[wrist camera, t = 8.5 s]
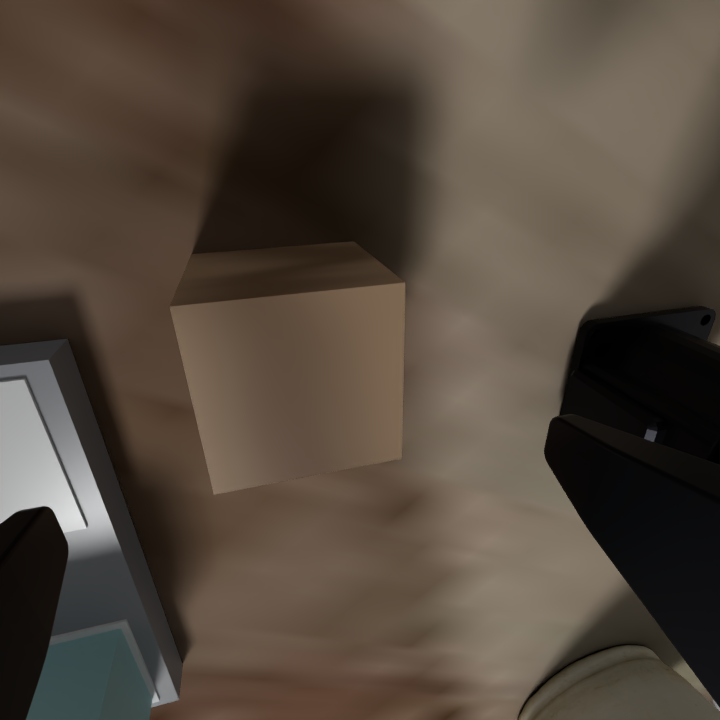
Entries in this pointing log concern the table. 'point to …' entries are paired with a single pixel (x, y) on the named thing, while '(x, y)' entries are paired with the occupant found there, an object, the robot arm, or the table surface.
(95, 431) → the baseplate
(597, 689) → the jug
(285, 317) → the walnut block
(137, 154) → the table surface
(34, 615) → the robot arm
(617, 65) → the table surface
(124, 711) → the teal block
